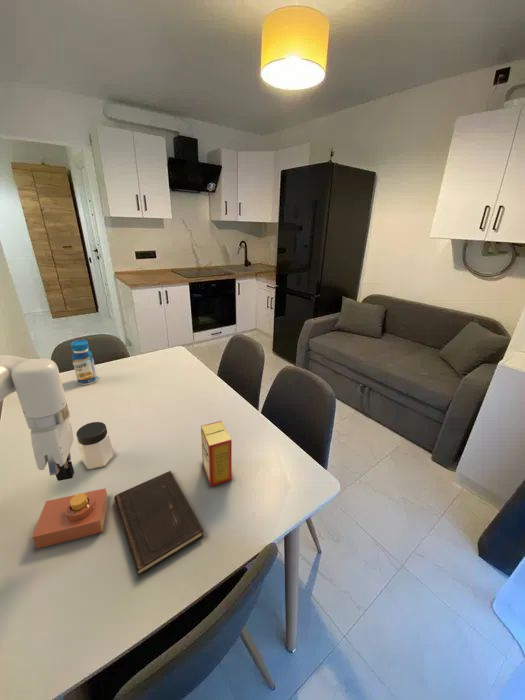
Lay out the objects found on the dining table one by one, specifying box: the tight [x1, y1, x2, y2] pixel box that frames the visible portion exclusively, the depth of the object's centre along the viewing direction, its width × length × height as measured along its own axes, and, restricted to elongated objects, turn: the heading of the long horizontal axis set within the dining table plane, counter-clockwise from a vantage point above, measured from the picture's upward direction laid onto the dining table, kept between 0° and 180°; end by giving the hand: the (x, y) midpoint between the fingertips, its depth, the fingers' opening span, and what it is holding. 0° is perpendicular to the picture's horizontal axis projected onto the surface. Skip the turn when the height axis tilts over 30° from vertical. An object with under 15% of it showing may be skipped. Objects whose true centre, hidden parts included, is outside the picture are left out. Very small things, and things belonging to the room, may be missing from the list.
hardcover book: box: [114, 470, 205, 576], centre depth 77 cm, size 16×23×2 cm
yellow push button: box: [70, 492, 88, 511], centre depth 73 cm, size 4×4×2 cm
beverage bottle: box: [70, 339, 98, 386], centre depth 135 cm, size 8×8×20 cm
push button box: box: [31, 487, 109, 549], centre depth 74 cm, size 14×10×6 cm
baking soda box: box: [200, 420, 233, 487], centre depth 89 cm, size 10×6×16 cm
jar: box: [76, 421, 114, 470], centre depth 92 cm, size 9×8×12 cm
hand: (66, 477), depth 70 cm, fingers closed
